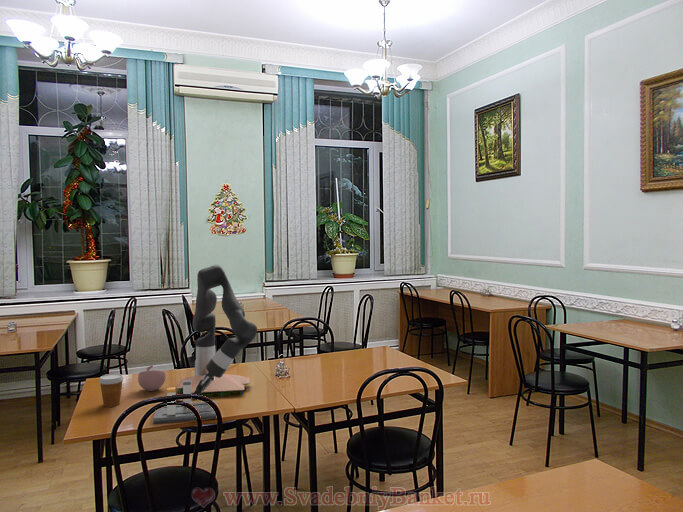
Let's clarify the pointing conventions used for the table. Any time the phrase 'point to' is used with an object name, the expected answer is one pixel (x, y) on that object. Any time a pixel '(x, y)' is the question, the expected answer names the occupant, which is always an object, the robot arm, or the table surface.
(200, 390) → the robot arm
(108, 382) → the disposable coffee cup
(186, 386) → the white fader
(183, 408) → the console
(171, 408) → the orange fader
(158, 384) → the pink apple
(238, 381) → the pink cutting board
